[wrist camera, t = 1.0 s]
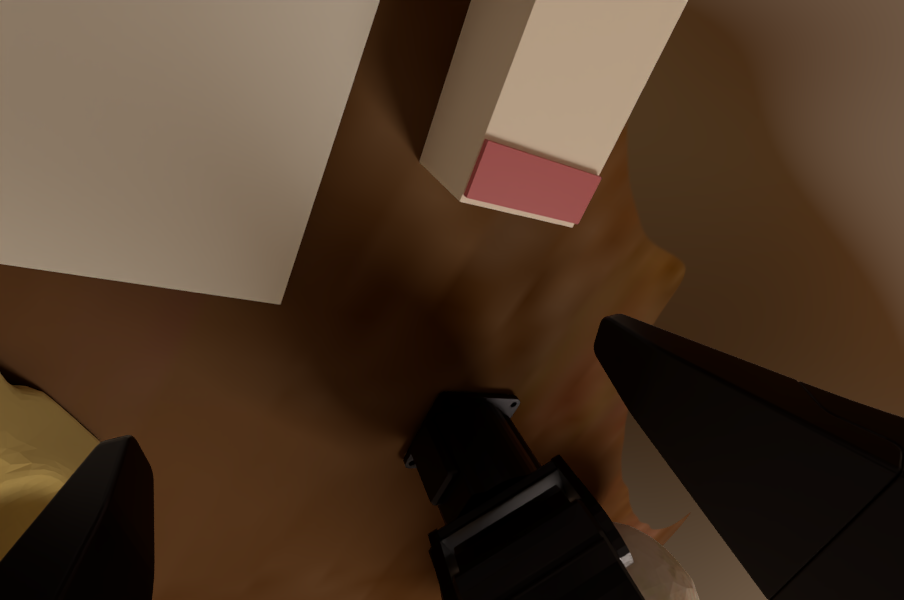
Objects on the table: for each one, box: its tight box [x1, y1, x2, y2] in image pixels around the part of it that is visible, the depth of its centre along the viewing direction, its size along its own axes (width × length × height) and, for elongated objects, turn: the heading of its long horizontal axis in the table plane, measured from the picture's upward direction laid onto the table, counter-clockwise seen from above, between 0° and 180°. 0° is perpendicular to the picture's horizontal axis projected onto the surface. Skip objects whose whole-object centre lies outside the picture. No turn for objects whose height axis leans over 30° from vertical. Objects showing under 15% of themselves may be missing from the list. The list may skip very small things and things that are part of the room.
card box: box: [419, 0, 688, 227], centre depth 17 cm, size 8×6×5 cm, turn 157°
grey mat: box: [0, 0, 380, 305], centre depth 13 cm, size 13×14×1 cm
